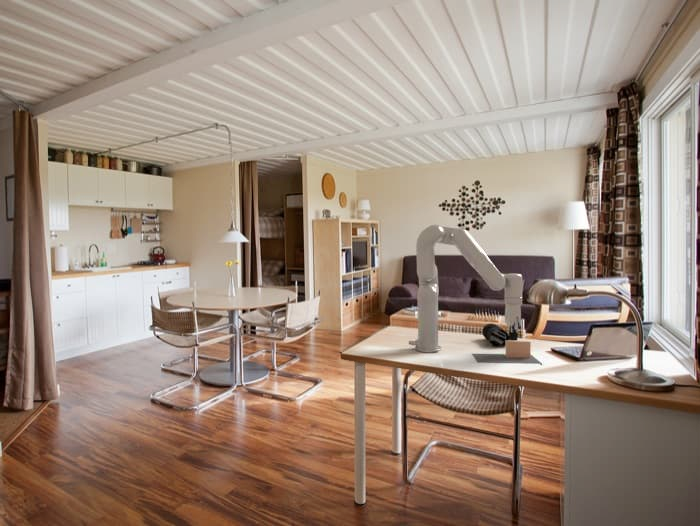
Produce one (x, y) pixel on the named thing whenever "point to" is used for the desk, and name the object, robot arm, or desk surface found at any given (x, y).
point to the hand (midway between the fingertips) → (513, 340)
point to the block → (517, 348)
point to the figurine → (495, 334)
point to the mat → (504, 359)
